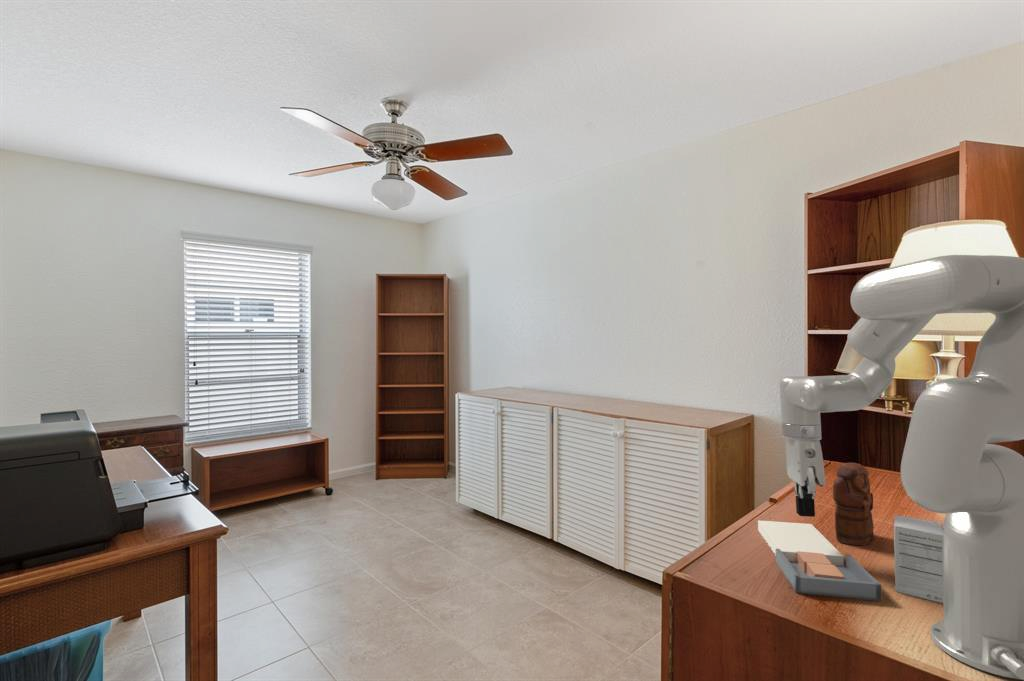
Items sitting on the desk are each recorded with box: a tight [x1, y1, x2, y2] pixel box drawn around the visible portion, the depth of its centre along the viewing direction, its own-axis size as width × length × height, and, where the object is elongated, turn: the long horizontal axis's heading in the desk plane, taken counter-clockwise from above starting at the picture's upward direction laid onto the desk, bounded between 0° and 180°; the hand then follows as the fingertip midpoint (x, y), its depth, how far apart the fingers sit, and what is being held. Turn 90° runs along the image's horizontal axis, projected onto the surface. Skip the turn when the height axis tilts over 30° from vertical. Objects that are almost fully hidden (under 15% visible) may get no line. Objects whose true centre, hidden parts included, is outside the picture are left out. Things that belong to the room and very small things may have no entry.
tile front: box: [806, 562, 845, 580], centre depth 95 cm, size 5×5×2 cm
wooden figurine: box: [832, 462, 875, 546], centre depth 115 cm, size 12×6×18 cm, turn 129°
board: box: [757, 520, 845, 566], centre depth 111 cm, size 18×12×2 cm, turn 167°
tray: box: [775, 549, 882, 602], centre depth 96 cm, size 13×14×3 cm
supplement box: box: [893, 514, 944, 604], centre depth 92 cm, size 7×7×13 cm
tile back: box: [797, 551, 832, 573], centre depth 100 cm, size 5×5×2 cm
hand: (805, 515), depth 107 cm, fingers closed
